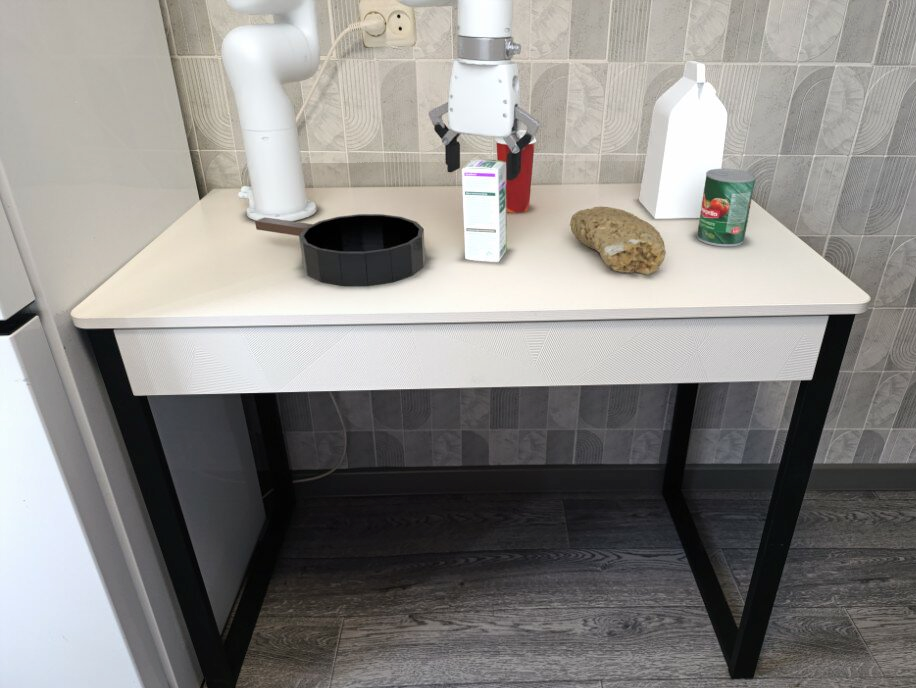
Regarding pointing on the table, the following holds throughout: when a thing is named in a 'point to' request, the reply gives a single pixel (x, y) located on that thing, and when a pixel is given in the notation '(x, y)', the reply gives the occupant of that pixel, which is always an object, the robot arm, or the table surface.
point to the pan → (356, 247)
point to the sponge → (620, 239)
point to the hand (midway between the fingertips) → (482, 174)
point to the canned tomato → (725, 207)
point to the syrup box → (484, 210)
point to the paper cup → (521, 184)
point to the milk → (683, 146)
